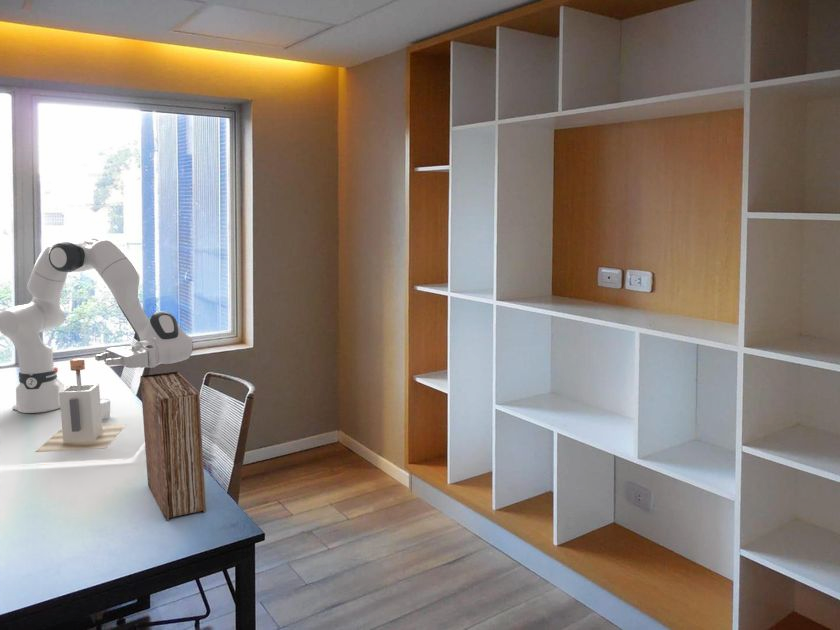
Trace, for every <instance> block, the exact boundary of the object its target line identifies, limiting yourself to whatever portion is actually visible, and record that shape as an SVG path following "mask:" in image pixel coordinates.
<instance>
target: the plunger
mask: <svg viewBox="0 0 840 630" xmlns="http://www.w3.org/2000/svg"><path fill="white" fill-rule="evenodd" d="M85 363H86V362H85V358H72V359H70V360H69V365H70V371H72V372H73V371H74V372H75V374H76V375H75V376H76V377H75V378H76V385H77V390H78V391H82V387H81V385H82V377H81V371H83V370H85V369H86V364H85Z"/></svg>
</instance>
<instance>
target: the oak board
mask: <svg viewBox="0 0 840 630" xmlns="http://www.w3.org/2000/svg"><path fill="white" fill-rule="evenodd" d="M126 426H127V423H126V424H125V423H124V424H106V425H105V424H104V425H103V424H102V430H103V432H102V433H101V434H100V435H99V437H98V438H97V439H96V440H95V441H87V442H67V443H63V433H62V428H61V429H59V430H58V431H57V432H56V433H54V435H53V436H52V437H50V438H49V439H48V440H47V441H46V442H45V443H43V444H42V445H41V446H40V447H39V448H37V450H35V453H42V452H61V451H62V452H63V451H64V452H65V451H83V450H98V449H102V450H103V449H106V448H108V446H109V445H110V444H112V443H111V442H113V441H114V440H115V438H116V437H117V436H118V435H119V434H120V433H121V431H122V430H123V429H124V428H125V427H126Z"/></svg>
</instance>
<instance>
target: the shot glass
mask: <svg viewBox="0 0 840 630" xmlns="http://www.w3.org/2000/svg"><path fill="white" fill-rule="evenodd" d="M100 404H101V417H102V420H105V419H110V418H111V399H108V398H100Z"/></svg>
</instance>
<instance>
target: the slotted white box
mask: <svg viewBox="0 0 840 630" xmlns="http://www.w3.org/2000/svg"><path fill="white" fill-rule="evenodd" d="M81 387H82V391H78V390H77V384H69V385H68V386H65V389H63V390H62V391H60V392H59V398H60V408H59V409H60V419H61V429H62V433H63V443H67V442H87V441H95V440H96V439H97V438H98V437H99V435H100V434H101V433H102V432H103V430H102V425H103V419H102V417H101V404H100V399H101V395H100V391H101V390H100V383H93V384H91V383H89V384H87V383H86V384H81Z"/></svg>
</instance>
